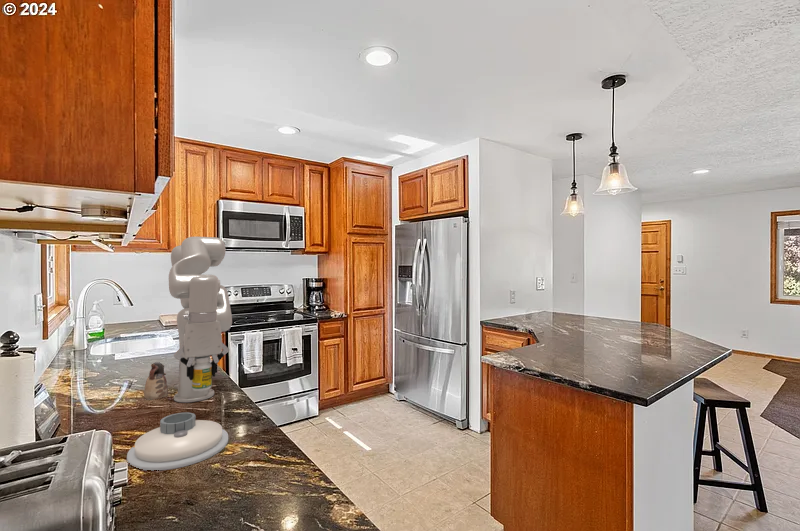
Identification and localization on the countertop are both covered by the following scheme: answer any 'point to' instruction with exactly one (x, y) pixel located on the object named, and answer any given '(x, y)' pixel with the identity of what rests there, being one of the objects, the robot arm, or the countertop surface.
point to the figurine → (156, 382)
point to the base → (176, 463)
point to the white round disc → (178, 438)
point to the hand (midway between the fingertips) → (202, 376)
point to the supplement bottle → (202, 374)
